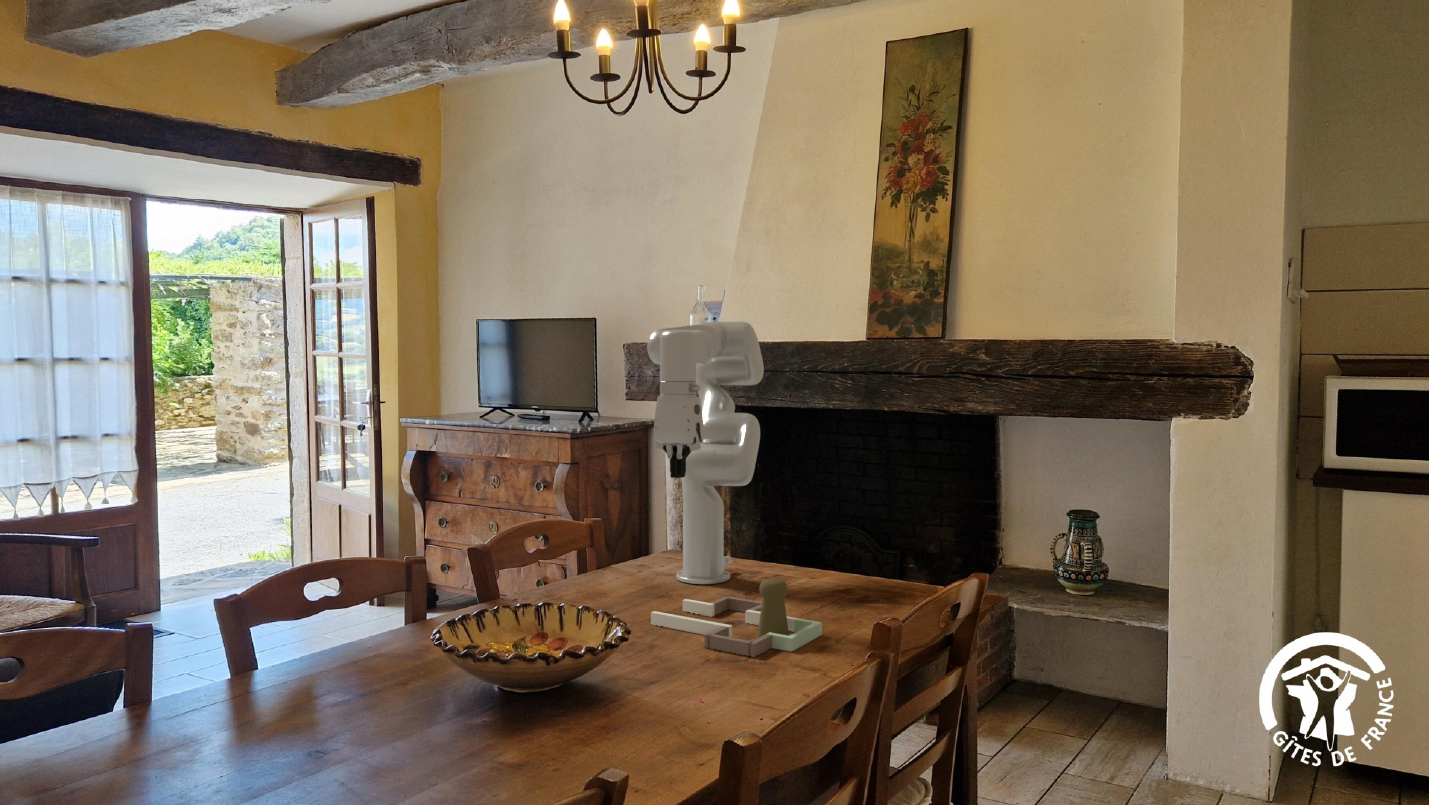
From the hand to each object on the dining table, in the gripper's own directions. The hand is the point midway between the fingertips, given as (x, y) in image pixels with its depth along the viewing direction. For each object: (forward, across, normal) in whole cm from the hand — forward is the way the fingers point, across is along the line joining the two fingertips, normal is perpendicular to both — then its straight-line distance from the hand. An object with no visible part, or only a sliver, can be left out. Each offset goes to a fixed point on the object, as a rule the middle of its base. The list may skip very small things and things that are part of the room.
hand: (677, 477), depth 207 cm
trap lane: (+27, -19, +9) cm, 34 cm away
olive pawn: (+27, -28, +9) cm, 40 cm away
